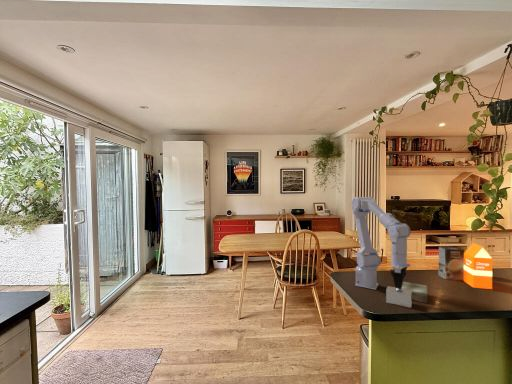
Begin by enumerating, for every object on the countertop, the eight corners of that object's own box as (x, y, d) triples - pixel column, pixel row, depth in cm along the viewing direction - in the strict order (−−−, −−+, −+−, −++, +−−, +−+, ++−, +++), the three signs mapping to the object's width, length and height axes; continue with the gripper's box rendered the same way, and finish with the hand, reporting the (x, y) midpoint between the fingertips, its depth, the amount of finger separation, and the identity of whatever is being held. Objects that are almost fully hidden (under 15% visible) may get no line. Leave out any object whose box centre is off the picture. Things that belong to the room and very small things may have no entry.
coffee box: (445, 279, 131) (445, 249, 131) (438, 275, 137) (438, 246, 137) (464, 280, 130) (464, 249, 130) (455, 276, 136) (456, 246, 136)
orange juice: (473, 287, 121) (473, 246, 120) (463, 280, 129) (463, 242, 129) (492, 289, 119) (493, 247, 118) (481, 282, 127) (481, 243, 127)
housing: (386, 302, 106) (386, 288, 106) (387, 298, 110) (387, 284, 110) (411, 308, 101) (411, 293, 101) (411, 303, 105) (411, 288, 105)
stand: (394, 296, 111) (394, 287, 111) (396, 288, 120) (396, 280, 120) (427, 303, 105) (427, 293, 105) (427, 294, 113) (427, 285, 113)
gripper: (409, 258, 97) (409, 293, 97) (410, 250, 109) (410, 281, 109) (388, 255, 101) (389, 289, 101) (392, 248, 113) (392, 278, 113)
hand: (399, 285), depth 105 cm, fingers open, 7 cm apart
